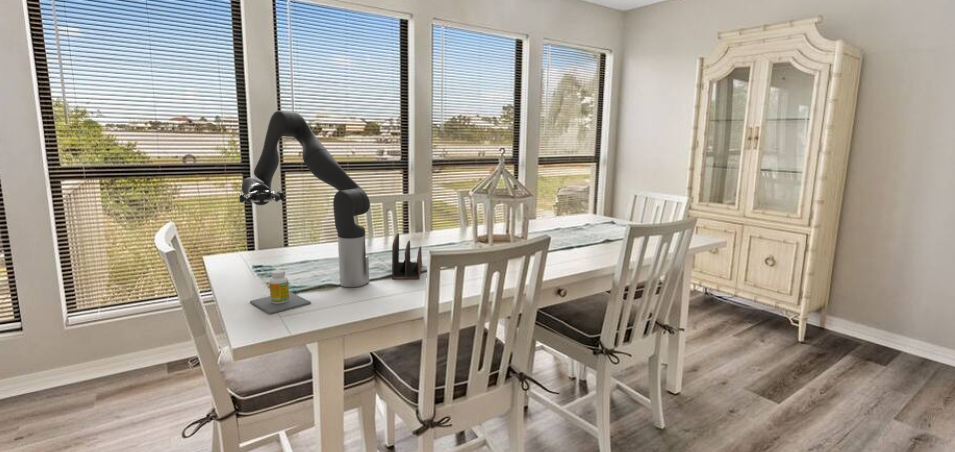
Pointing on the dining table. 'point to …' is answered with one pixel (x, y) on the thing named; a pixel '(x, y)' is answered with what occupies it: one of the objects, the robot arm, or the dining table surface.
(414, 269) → the letter holder
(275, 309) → the mat
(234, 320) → the dining table surface
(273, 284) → the supplement bottle
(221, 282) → the dining table surface
